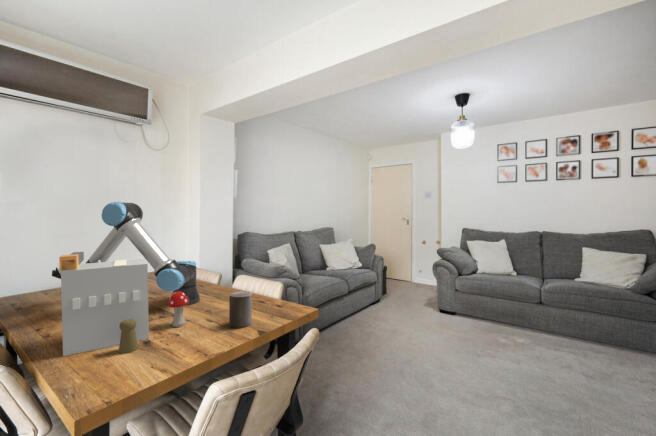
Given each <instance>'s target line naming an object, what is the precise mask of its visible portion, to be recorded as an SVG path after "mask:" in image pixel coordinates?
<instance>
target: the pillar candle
mask: <svg viewBox="0 0 656 436" xmlns="http://www.w3.org/2000/svg"><path fill="white" fill-rule="evenodd" d="M252 294H253V293H252V292H250V291H241V290H240V291H233V292H230V294H229V303H228V305H229V306H228V309H229V310H228V311H229V313H228V315H229V318H228V319H229V321H228V322H229V323H228V324H229V327H230V328H233V329H241V328H242V329H243V328H247V327H250V326H251V325H252V322H253V320H252V318H253V317H252V316H253V315H252V314H253V313H252V311H253V310H252V307H253V304H252V299H253V298H252V296H253V295H252Z"/></svg>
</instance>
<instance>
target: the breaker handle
mask: <svg viewBox="0 0 656 436" xmlns="http://www.w3.org/2000/svg"><path fill="white" fill-rule="evenodd" d="M84 254H85V253H84V251H75V252H72V253H70V254H62V255H60V256H59V260H58V261H59V263H60V271H62V270H73V269H77V268H78V267H79V264H80V263H82V262H83V261H84V260H85V257H84Z"/></svg>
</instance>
